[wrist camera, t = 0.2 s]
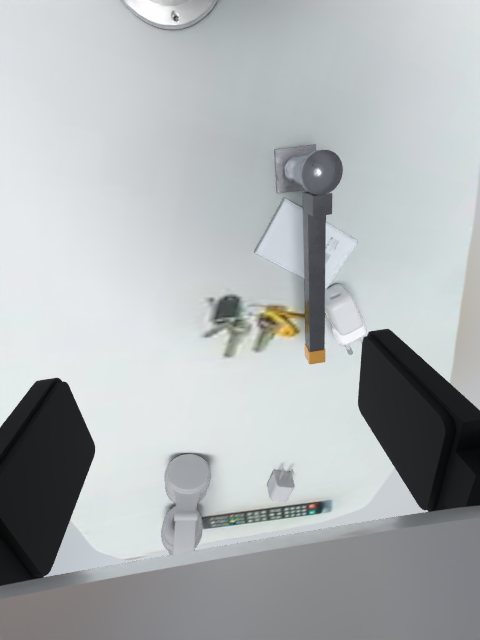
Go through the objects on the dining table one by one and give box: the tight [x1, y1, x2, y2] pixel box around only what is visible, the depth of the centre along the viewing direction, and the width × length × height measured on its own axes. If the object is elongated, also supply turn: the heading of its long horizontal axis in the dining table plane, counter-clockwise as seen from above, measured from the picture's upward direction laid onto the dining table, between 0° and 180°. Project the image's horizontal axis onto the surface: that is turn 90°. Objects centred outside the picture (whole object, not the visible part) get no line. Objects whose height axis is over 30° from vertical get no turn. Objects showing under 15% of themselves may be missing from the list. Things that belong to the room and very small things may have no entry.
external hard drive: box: [254, 198, 358, 289], centre depth 45 cm, size 2×8×12 cm
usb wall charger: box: [267, 469, 295, 502], centre depth 66 cm, size 4×7×4 cm, turn 165°
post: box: [274, 144, 316, 193], centre depth 37 cm, size 5×5×9 cm
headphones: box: [161, 454, 211, 555], centre depth 58 cm, size 20×8×19 cm, turn 172°
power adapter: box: [325, 284, 367, 355], centre depth 49 cm, size 11×5×6 cm, turn 29°
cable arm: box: [299, 150, 343, 364], centre depth 38 cm, size 26×4×4 cm, turn 6°
